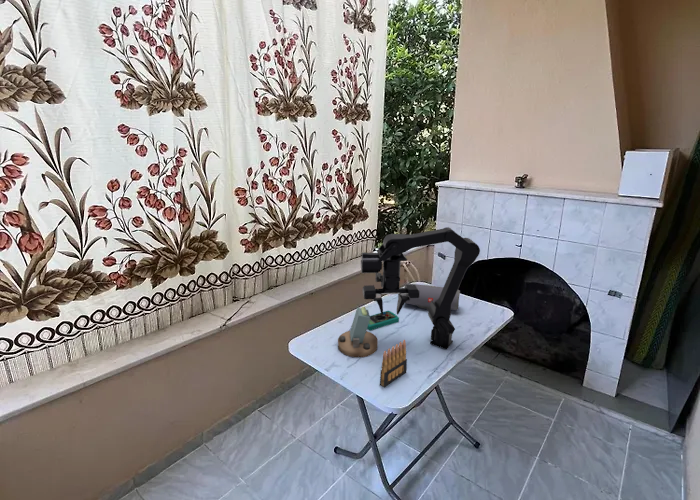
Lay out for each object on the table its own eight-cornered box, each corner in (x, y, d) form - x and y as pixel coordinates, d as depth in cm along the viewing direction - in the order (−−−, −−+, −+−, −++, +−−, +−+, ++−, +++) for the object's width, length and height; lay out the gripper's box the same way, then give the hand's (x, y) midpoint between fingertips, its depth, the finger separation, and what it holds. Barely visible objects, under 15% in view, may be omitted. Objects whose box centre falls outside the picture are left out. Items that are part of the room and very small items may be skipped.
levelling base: (374, 335, 141) (375, 322, 139) (380, 356, 128) (380, 342, 126) (337, 336, 140) (337, 323, 138) (339, 358, 127) (339, 344, 125)
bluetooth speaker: (402, 309, 162) (403, 287, 159) (405, 300, 170) (407, 279, 167) (457, 316, 155) (459, 294, 152) (458, 306, 164) (460, 285, 161)
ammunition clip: (402, 370, 121) (403, 337, 117) (406, 373, 119) (408, 339, 116) (379, 385, 114) (380, 350, 110) (384, 388, 112) (385, 353, 109)
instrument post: (360, 334, 136) (369, 306, 133) (362, 343, 130) (371, 314, 127) (349, 332, 135) (358, 304, 132) (351, 341, 130) (359, 312, 126)
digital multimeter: (400, 322, 151) (400, 316, 150) (369, 332, 144) (369, 325, 143) (389, 315, 157) (389, 308, 156) (359, 324, 150) (359, 317, 149)
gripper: (413, 263, 135) (410, 303, 140) (361, 264, 133) (360, 304, 138) (421, 275, 124) (418, 317, 129) (364, 276, 123) (363, 319, 128)
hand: (389, 314), depth 131 cm, fingers open, 5 cm apart
